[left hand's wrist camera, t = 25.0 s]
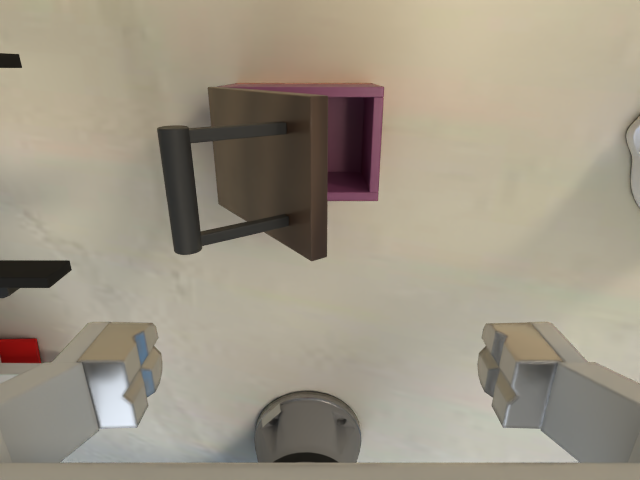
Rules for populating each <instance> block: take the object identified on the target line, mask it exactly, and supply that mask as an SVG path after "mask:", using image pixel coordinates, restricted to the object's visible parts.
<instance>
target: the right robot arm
mask: <svg viewBox="0 0 640 480" xmlns="http://www.w3.org/2000/svg"><path fill="white" fill-rule="evenodd" d="M0 68H22V65H21V61H20V57H19V54H4V53H0ZM71 270H72V269H71V265H70V261H0V298H5V297H7V296H10V295H11V294H12V293H14V292H15V291H16V290H18V289H19V288H50V287H51V286H52V285H54V284H55V283H56V282H57V281H59V280H60V279H61V278H62V277H64V276H65V275H66V274H67V273H69V272H70V271H71ZM254 440H255V449H256V454H257V459H258V463H356V462H357V459H358V455H359V452H360V446H361V432H360V425H359V421H358V419H357V417H356V415H355V413H354V412H353V411H352V410H351V409H350V407H349V406H347V405H346V404H345V403H344V402H342V401H341V400H339V399H337V398H335V397H333V396H330V395H327V394H324V393H319V392H297V393H292V394H288V395H285V396H282V397H280V398H278V399H276V400H275V401H273V402H272V403H270V404H269V405H268V406H267V407H266V408H265V409H264V410H263V412H262V413H261V415H260V416H259V419H258V421H257V425H256V430H255V437H254Z"/></svg>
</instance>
